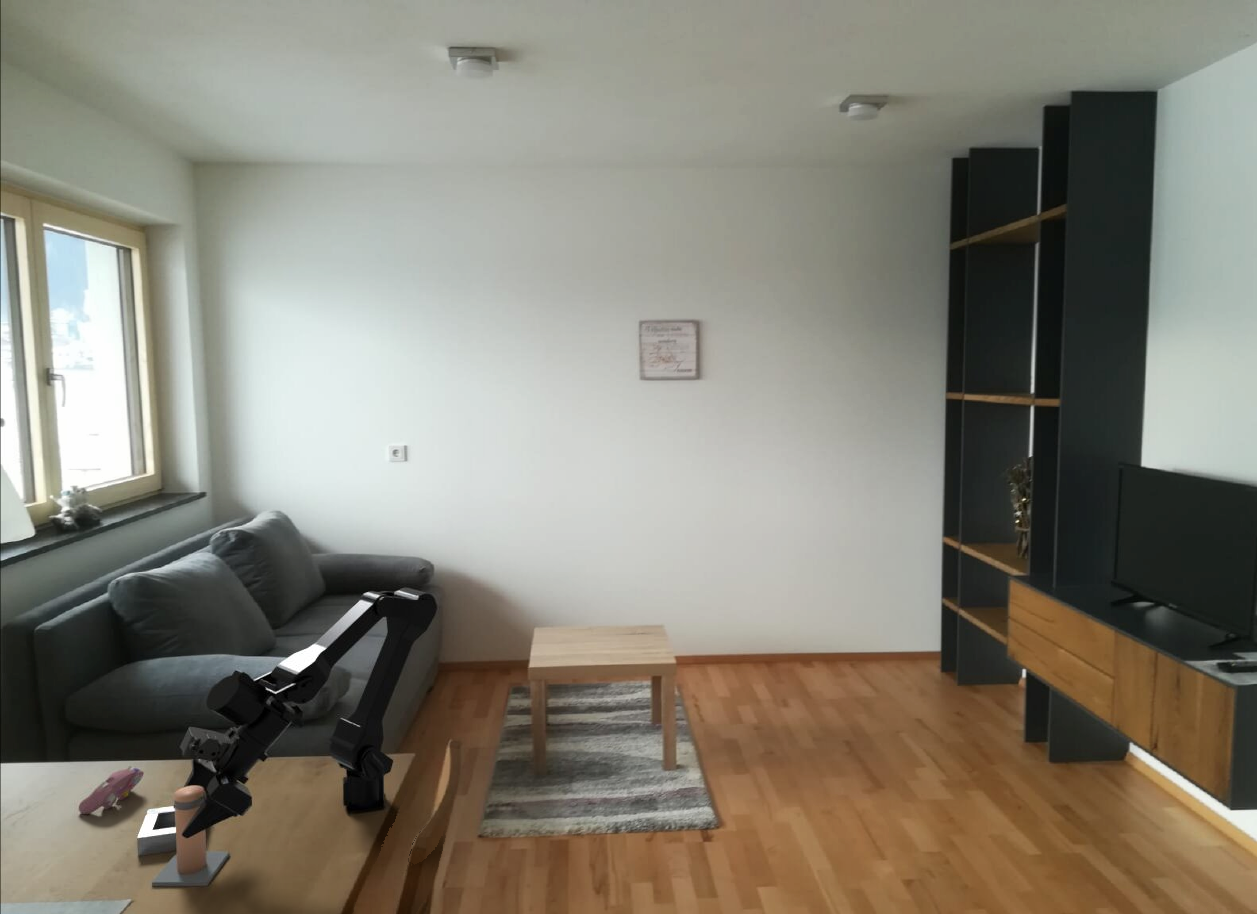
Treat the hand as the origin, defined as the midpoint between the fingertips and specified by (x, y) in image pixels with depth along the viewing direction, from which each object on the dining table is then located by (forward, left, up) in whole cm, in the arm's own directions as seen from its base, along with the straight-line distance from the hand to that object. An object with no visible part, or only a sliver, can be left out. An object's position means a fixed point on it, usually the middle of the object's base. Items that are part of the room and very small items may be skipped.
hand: (179, 822), depth 130 cm
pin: (-1, 0, -8) cm, 8 cm away
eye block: (+3, -11, -8) cm, 14 cm away
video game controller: (+14, -26, -8) cm, 31 cm away
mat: (-1, 0, -8) cm, 8 cm away
